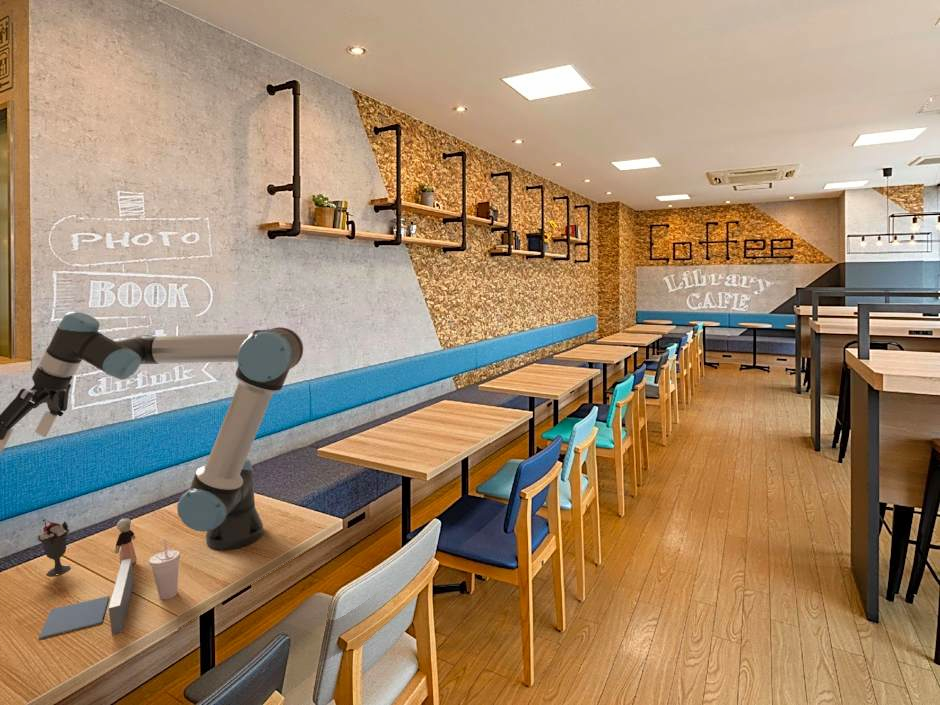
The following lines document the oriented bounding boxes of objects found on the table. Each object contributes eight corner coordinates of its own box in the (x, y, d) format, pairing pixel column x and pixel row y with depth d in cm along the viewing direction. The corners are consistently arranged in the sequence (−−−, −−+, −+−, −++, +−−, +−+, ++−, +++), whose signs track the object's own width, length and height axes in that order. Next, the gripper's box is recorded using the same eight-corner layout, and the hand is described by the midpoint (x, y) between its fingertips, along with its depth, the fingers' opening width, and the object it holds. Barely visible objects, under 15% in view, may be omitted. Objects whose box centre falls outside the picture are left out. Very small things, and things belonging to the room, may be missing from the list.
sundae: (38, 580, 136) (30, 523, 134) (46, 567, 142) (39, 513, 140) (70, 574, 139) (63, 518, 137) (77, 562, 145) (70, 508, 143)
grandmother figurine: (131, 571, 140) (125, 524, 138) (114, 573, 139) (108, 526, 137) (142, 556, 147) (137, 511, 145) (126, 558, 146) (121, 513, 145)
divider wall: (133, 581, 135) (131, 558, 134) (123, 631, 116) (119, 605, 115) (124, 583, 134) (121, 560, 133) (111, 634, 115) (108, 608, 114)
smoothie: (170, 604, 125) (164, 546, 123) (146, 601, 126) (139, 544, 124) (189, 588, 131) (184, 533, 129) (166, 586, 133) (160, 531, 131)
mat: (109, 597, 128) (108, 595, 128) (101, 623, 118) (101, 621, 118) (51, 610, 123) (51, 609, 123) (38, 639, 114) (38, 637, 114)
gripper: (78, 356, 148) (44, 421, 150) (-1, 369, 123) (-41, 447, 125) (103, 370, 148) (68, 435, 150) (29, 386, 123) (-11, 464, 125)
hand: (19, 441), depth 138 cm, fingers open, 13 cm apart
